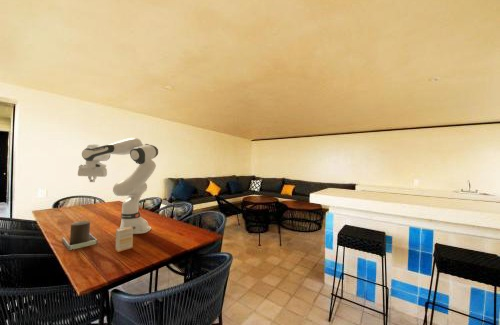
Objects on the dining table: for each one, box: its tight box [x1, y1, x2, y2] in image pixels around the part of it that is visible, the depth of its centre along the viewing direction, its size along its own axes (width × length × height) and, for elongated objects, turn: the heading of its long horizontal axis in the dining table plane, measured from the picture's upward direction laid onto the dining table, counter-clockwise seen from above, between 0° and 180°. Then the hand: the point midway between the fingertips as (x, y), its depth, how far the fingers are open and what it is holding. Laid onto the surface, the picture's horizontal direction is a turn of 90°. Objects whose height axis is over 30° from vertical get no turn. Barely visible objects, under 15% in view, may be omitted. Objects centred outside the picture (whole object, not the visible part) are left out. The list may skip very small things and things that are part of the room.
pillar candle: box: [69, 220, 91, 245], centre depth 131 cm, size 10×10×15 cm
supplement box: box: [115, 226, 134, 253], centre depth 126 cm, size 8×5×13 cm, turn 141°
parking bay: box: [61, 233, 98, 251], centre depth 133 cm, size 20×14×2 cm
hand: (92, 182), depth 160 cm, fingers closed
